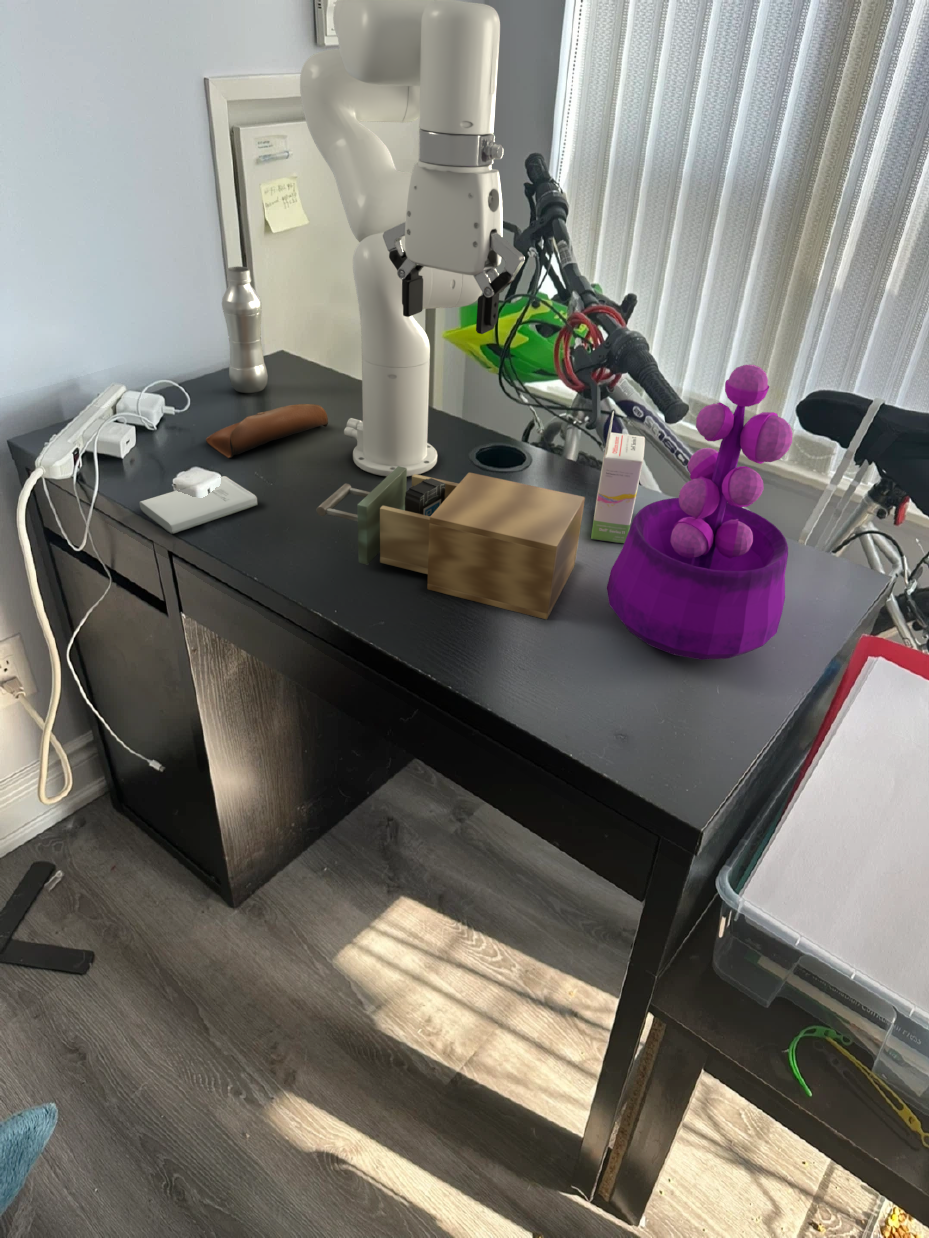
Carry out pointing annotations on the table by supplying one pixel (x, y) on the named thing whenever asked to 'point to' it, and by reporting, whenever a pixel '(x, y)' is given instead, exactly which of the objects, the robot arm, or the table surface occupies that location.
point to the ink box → (618, 486)
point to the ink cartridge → (425, 497)
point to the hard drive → (197, 506)
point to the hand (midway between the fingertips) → (448, 322)
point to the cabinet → (504, 544)
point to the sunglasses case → (267, 428)
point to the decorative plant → (710, 542)
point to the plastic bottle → (244, 332)
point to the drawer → (388, 522)
